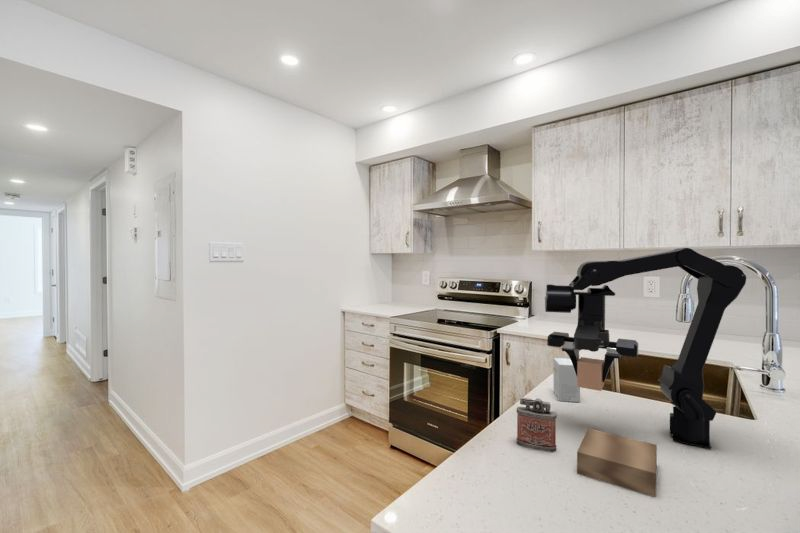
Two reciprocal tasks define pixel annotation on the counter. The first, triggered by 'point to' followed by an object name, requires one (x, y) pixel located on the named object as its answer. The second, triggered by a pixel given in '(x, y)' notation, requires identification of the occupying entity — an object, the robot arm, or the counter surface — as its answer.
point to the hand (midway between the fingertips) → (590, 379)
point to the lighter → (536, 425)
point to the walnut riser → (618, 461)
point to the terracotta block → (590, 373)
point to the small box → (565, 380)
